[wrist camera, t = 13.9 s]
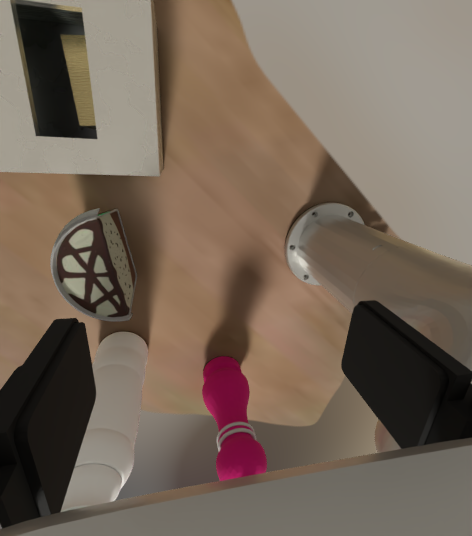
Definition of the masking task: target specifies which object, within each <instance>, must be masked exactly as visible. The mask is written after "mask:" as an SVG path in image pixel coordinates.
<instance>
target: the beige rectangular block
mask: <svg viewBox="0 0 472 536" xmlns="http://www.w3.org/2000/svg"><path fill="white" fill-rule="evenodd" d="M60 36H61V40H62V45H63V50H64V54H65V59H66V64H67V68H68V73H69V78H70V82H71V87H72V92H73V96H74V101H75V106H76V110H77V115H78V120H79V124H80V126H83V127H87V128H90V129H96V122H95V114H94V106H93V97H92V89H91V81H90V72H89V64H88V56H87V47H86V39H85V35H61V34H60Z"/></svg>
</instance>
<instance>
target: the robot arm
mask: <svg viewBox="0 0 472 536" xmlns="http://www.w3.org/2000/svg"><path fill="white" fill-rule="evenodd" d="M313 212H314V214H313V215H312V213H313ZM348 213H349V214H348ZM291 245H292V246H291ZM290 246H291V247H290ZM285 257H286V261H287V264H288V266H289V268H290V270H291V271H292V272H293V273H294V274H295V275H296V276H297V277H298V278H299V279H300V280H302V281H303V282H306V283H308V284H312V285H322V286H323V287H324V288H325V289H326V290H327V291H328V292H329V293H330V294H331V295H333V296H334V297H335V298H336V299H337V300H338V301H339V302H340V303H341V304H342V305H343V306H345V307H346V308H347V309H348V310H349V311H350V312H351V313H352V317H351V322H350V327H349V331H348V336H347V340H346V345H345V349H344V354H343V358H342V364H341V365H342V370H343V372H344V374H345V375H346V377H347V378H348V379H349V381H350V382H351V383H352V384H353V386H354V387H355V388H356V390H357V391H358V392H359V394H360V395H361V396H362V398H363V399H364V400H365V402H366V403H367V404H368V406H369V407H370V408H371V409H372V411H373V412H374V413H375V415H376V416H377V417H378V422H377V425H376V429H375V446H376V450H377V453H375V454H369V455H363V456H358V457H352V458H346V459H340V460H335V461H329V462H324V463H318V464H312V465H306V466H301V467H295V468H290V469H284V470H278V471H273V472H268V473H261V474H256V475H250V476H245V477H239V478H234V479H229V480H223V481H218V482H212V483H207V484H202V485H196V486H190V487H185V488H179V489H174V490H169V491H163V492H158V493H153V494H147V495H142V496H137V497H132V498H127V499H123V500H117V501H112V502H107V503H102V504H97V505H92V506H87V507H82V508H77V509H72V510H68V511H64V512H61V509H62V505H63V502H64V499H65V496H66V493H67V489H68V486H69V483H70V480H71V477H72V474H73V470H74V467H75V464H76V461H77V458H78V454H79V451H80V448H81V445H82V442H83V438H84V435H85V432H86V429H87V426H88V423H89V419H90V416H91V413H92V410H93V407H94V403H95V400H96V386H95V380H94V374H93V368H92V363H91V357H90V351H89V345H88V339H87V334H86V328H85V324H84V323H83V322H80V323H79V322H78V320H77V319H76V318H70V319H56V320H54V321H53V323H52V324H51V326H50V327H49V328H48V330H47V331H46V333H45V334H44V335H43V337H42V338H41V340H40V341H39V343H38V344H37V345H36V347H35V348H34V350H33V351H32V353H31V354H30V355H29V357H28V358H27V360H26V361H25V362H24V364H23V365H22V366H20V367H18V368H17V369H16V370H15V371H14V372H13V374H12V375H11V376H10V378H9V379H8V381H7V382H6V383H5V385H4V386H3V387H2V389H1V390H0V536H472V265H469V264H466V263H463V262H460V261H457V260H454V259H452V258H449V257H446V256H443V255H440V254H437V253H434V252H432V251H429V250H427V249H424V248H422V247H419V246H416V245H414V244H411V243H409V242H406V241H404V240H401V239H398V238H396V237H393V236H391V235H388V234H386V233H383V232H381V231H378V230H376V229H373V228H371V227H368V226H366V225H365V224H364V222H363V220H362V218H361V216H360V215H359V214H358V213H357V212H356V211H355V210H354V209H352V208H351V207H349V206H346V205H343V204H340V203H330V202H328V203H323V204H319V205H316V206H314V207H312V208H310V209H308V210H307V211H305V212H304V213H303V214H302V215H301V216H300V217H298V219H297V220H296V221H295V222H294V224H293V225H292V227H291V229H290V231H289V233H288V236H287V239H286V244H285ZM304 275H305V276H304Z"/></svg>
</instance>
